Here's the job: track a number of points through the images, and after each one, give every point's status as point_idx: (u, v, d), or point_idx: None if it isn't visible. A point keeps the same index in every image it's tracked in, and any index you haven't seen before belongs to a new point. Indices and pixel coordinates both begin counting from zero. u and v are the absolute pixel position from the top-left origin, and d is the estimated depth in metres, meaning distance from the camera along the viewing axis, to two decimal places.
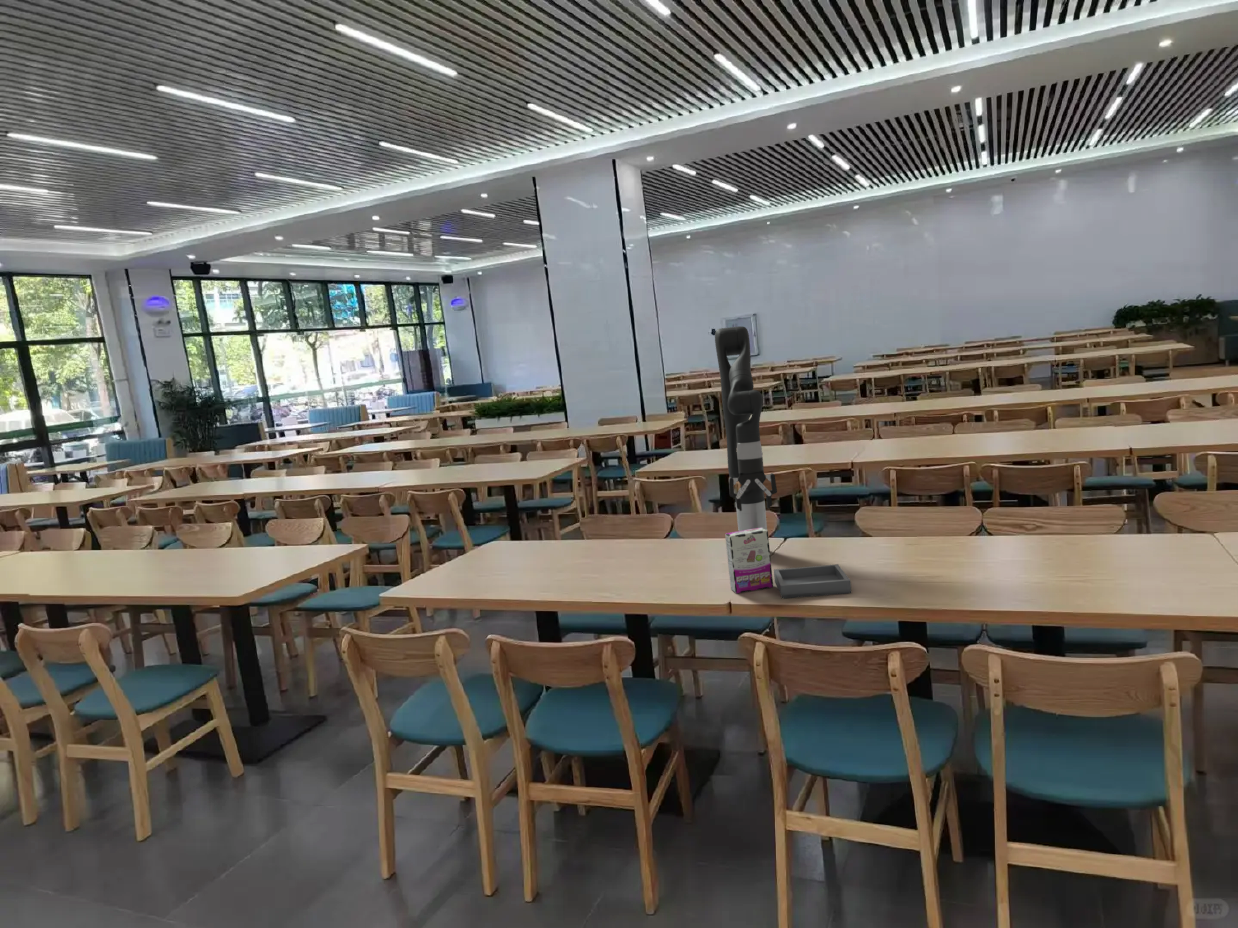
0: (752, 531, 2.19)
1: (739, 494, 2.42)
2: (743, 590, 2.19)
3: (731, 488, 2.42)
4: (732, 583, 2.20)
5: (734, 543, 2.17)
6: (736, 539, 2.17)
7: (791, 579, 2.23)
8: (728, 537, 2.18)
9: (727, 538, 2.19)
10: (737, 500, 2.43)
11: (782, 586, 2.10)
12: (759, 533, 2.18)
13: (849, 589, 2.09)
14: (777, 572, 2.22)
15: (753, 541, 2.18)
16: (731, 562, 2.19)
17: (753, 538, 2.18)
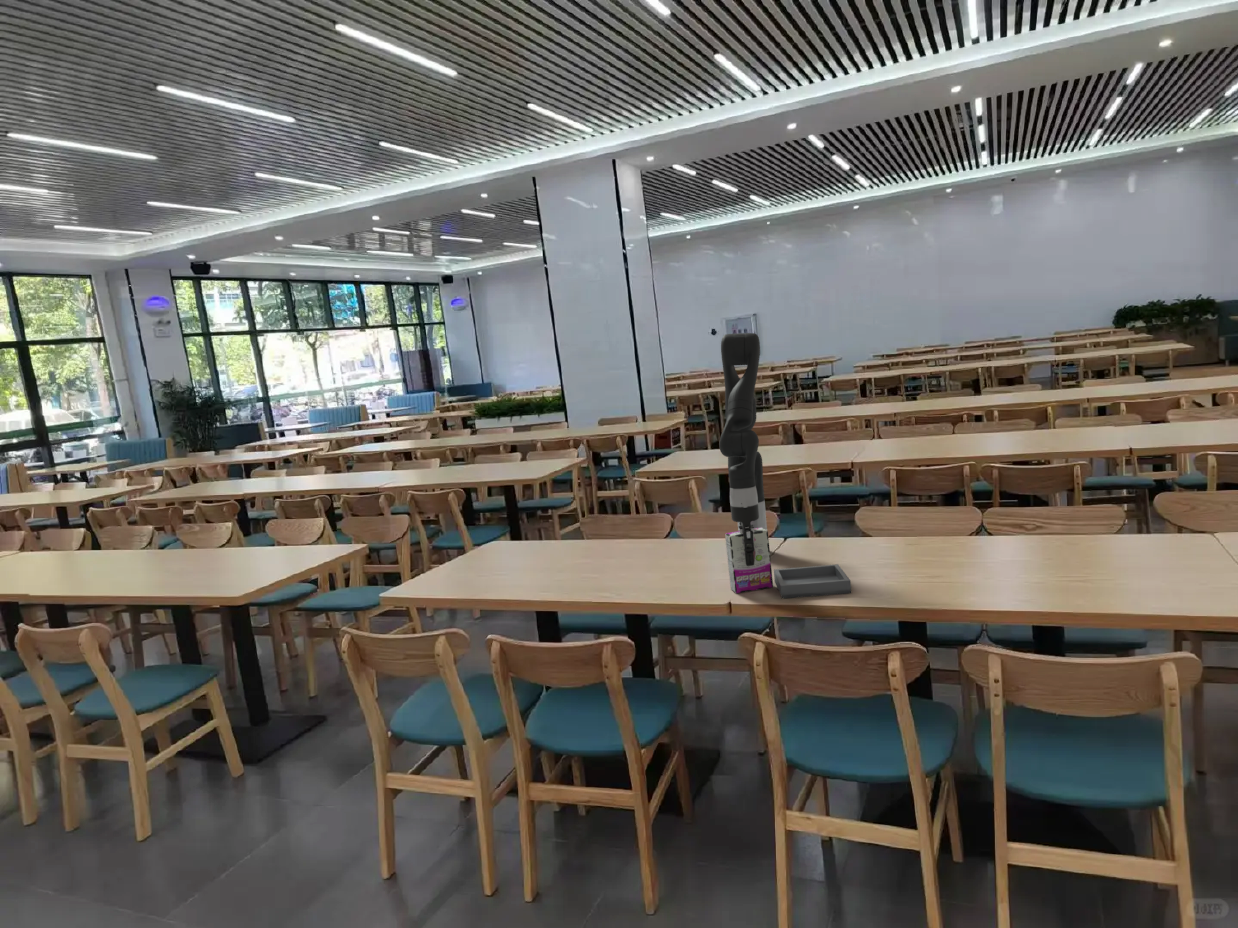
0: None
1: None
2: (743, 590, 2.19)
3: None
4: (732, 583, 2.20)
5: (733, 543, 2.17)
6: (736, 539, 2.17)
7: (791, 579, 2.23)
8: (728, 537, 2.18)
9: (727, 538, 2.19)
10: (752, 554, 2.17)
11: (782, 586, 2.10)
12: (759, 533, 2.18)
13: (849, 589, 2.09)
14: (777, 572, 2.22)
15: None
16: (730, 561, 2.19)
17: None
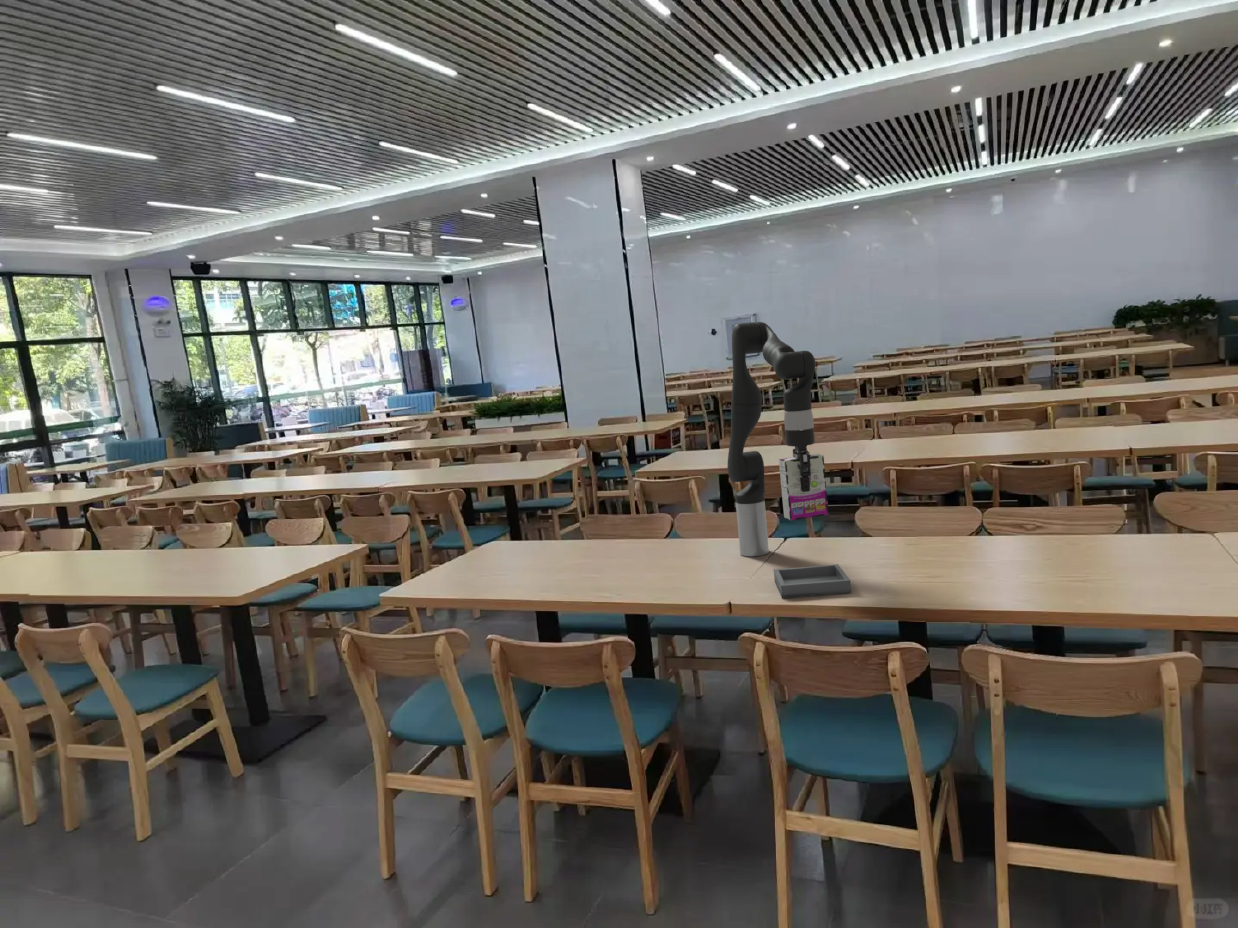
0: None
1: None
2: (798, 517, 2.12)
3: None
4: (786, 510, 2.13)
5: (789, 468, 2.10)
6: (791, 464, 2.10)
7: (791, 579, 2.23)
8: (782, 462, 2.11)
9: (782, 463, 2.12)
10: (807, 479, 2.10)
11: (782, 586, 2.10)
12: (815, 458, 2.11)
13: (849, 589, 2.09)
14: (777, 572, 2.22)
15: None
16: (785, 488, 2.12)
17: None
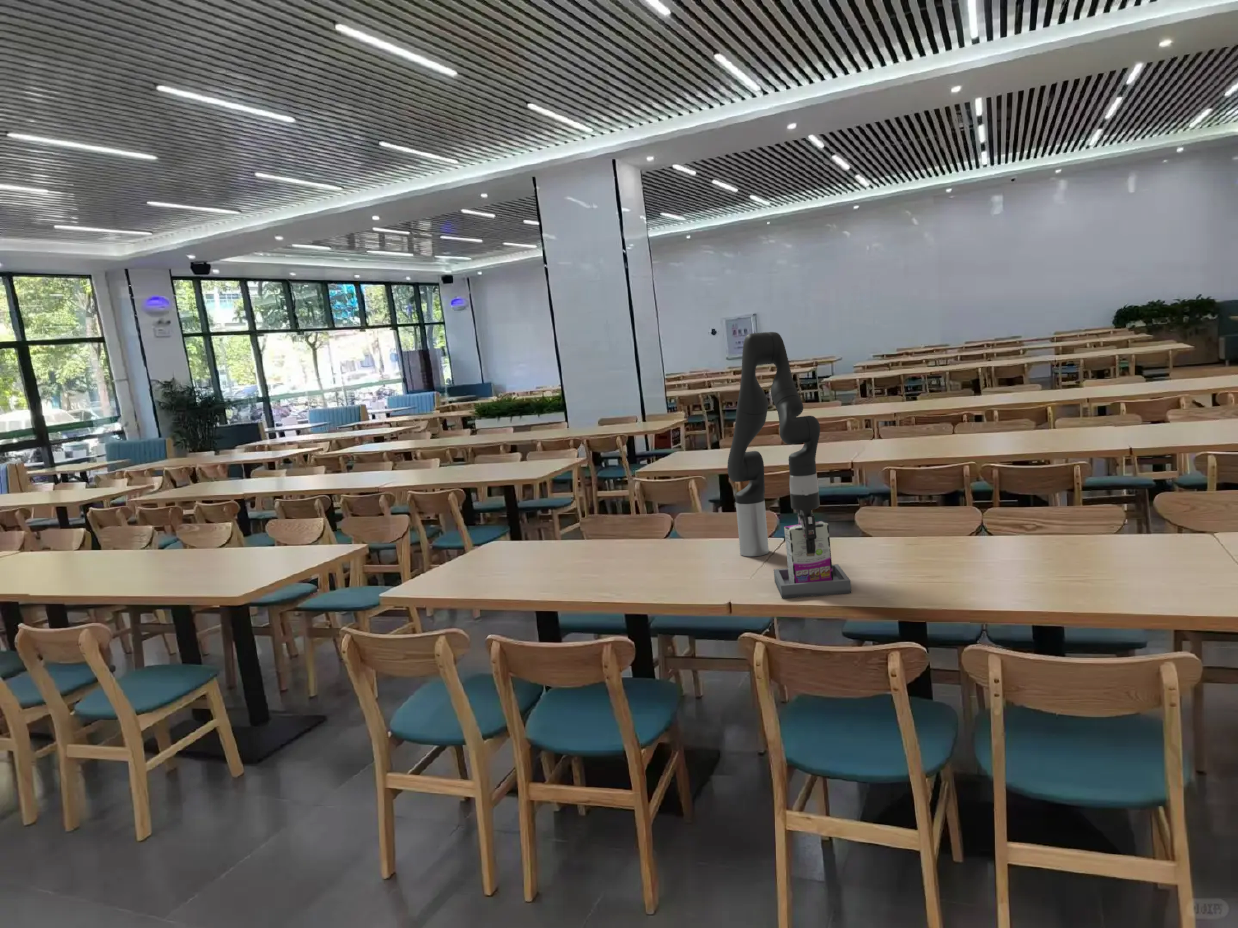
0: None
1: (814, 534, 2.11)
2: None
3: None
4: (791, 577, 2.16)
5: (793, 536, 2.13)
6: (796, 533, 2.13)
7: None
8: (787, 530, 2.14)
9: (787, 531, 2.15)
10: None
11: (782, 586, 2.10)
12: (819, 527, 2.14)
13: (849, 589, 2.09)
14: (777, 572, 2.22)
15: None
16: (790, 555, 2.15)
17: None
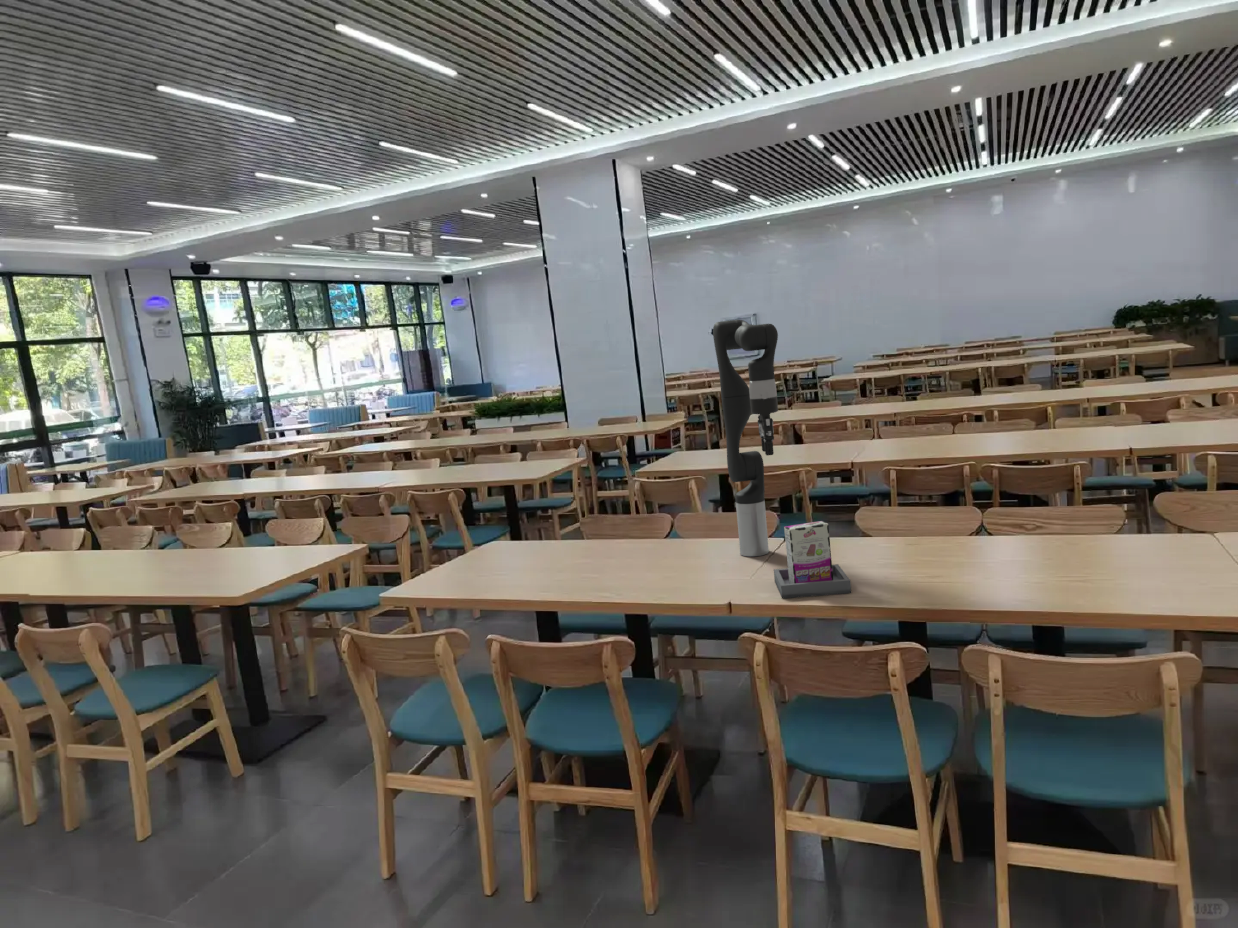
0: (812, 524, 2.15)
1: None
2: None
3: (772, 429, 2.19)
4: (791, 577, 2.16)
5: (793, 536, 2.13)
6: (796, 533, 2.13)
7: None
8: (787, 530, 2.14)
9: (787, 531, 2.15)
10: None
11: (782, 586, 2.10)
12: (819, 527, 2.14)
13: (849, 589, 2.09)
14: (777, 572, 2.22)
15: (813, 535, 2.14)
16: (790, 555, 2.15)
17: (813, 531, 2.14)
